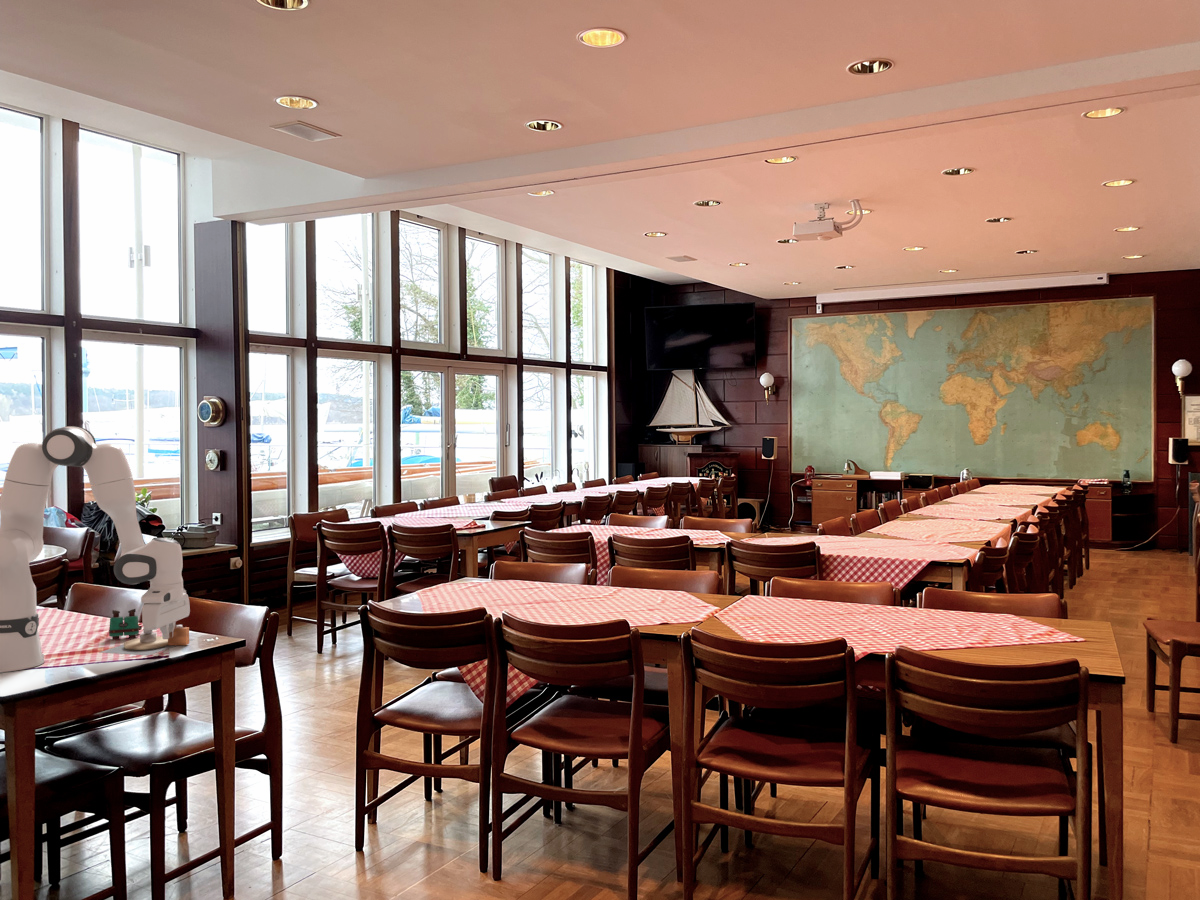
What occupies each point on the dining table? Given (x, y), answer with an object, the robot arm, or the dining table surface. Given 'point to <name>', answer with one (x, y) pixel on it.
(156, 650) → the base plate
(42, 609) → the dining table surface
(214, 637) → the dining table surface
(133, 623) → the binoculars
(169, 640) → the maple flange
